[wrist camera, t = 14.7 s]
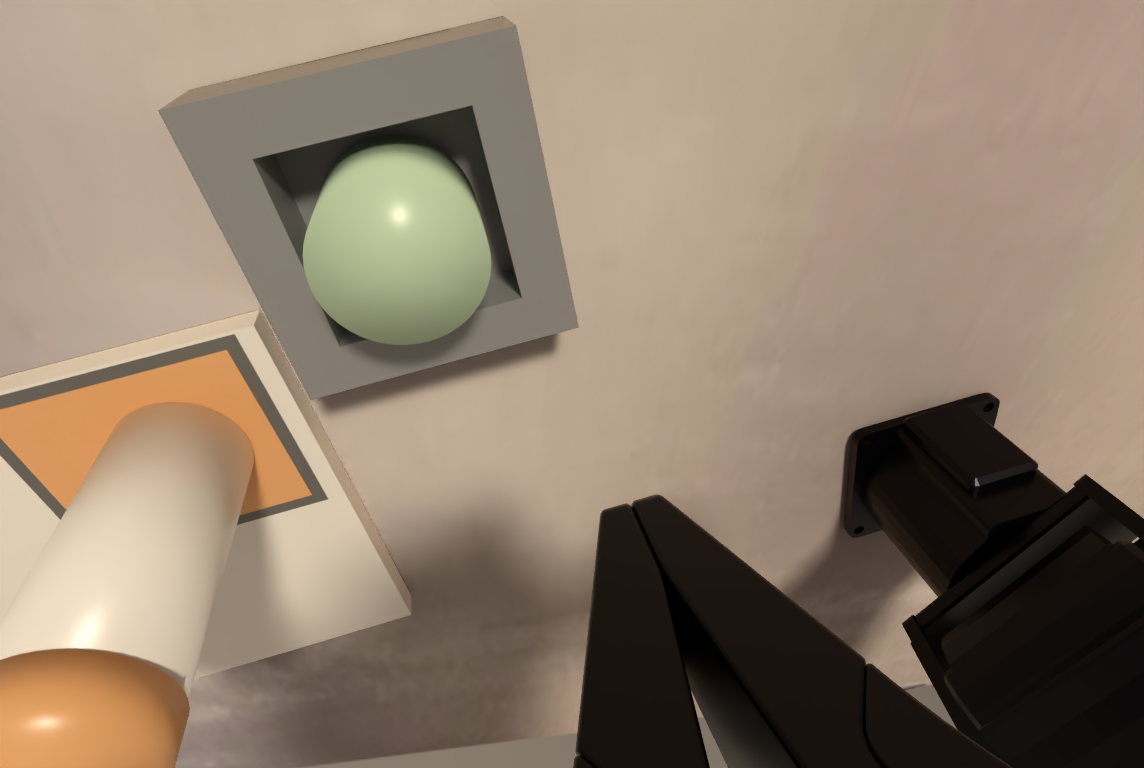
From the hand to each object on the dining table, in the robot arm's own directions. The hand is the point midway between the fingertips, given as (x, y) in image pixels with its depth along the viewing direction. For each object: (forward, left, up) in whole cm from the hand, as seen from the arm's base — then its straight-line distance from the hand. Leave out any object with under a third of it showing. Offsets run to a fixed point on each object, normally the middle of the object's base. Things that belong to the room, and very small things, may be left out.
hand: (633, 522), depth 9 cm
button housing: (+1, +3, -13) cm, 13 cm away
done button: (+1, +3, -12) cm, 13 cm away
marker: (-4, +12, -12) cm, 17 cm away
